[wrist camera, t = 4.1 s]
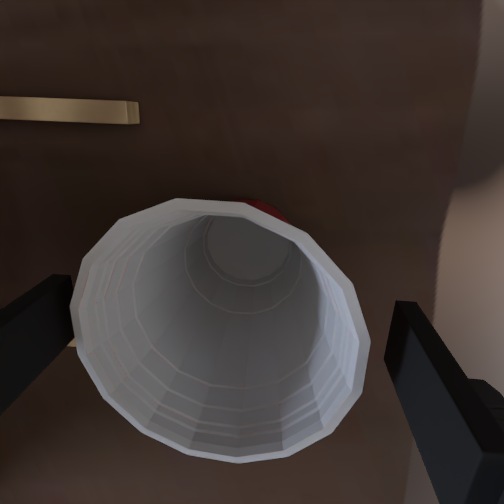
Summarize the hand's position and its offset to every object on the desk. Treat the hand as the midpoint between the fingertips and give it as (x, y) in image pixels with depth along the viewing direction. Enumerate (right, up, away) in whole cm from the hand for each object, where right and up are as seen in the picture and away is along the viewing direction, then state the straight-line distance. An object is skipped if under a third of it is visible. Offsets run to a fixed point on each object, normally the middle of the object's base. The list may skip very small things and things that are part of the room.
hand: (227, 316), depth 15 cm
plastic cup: (+1, +3, +9) cm, 10 cm away
